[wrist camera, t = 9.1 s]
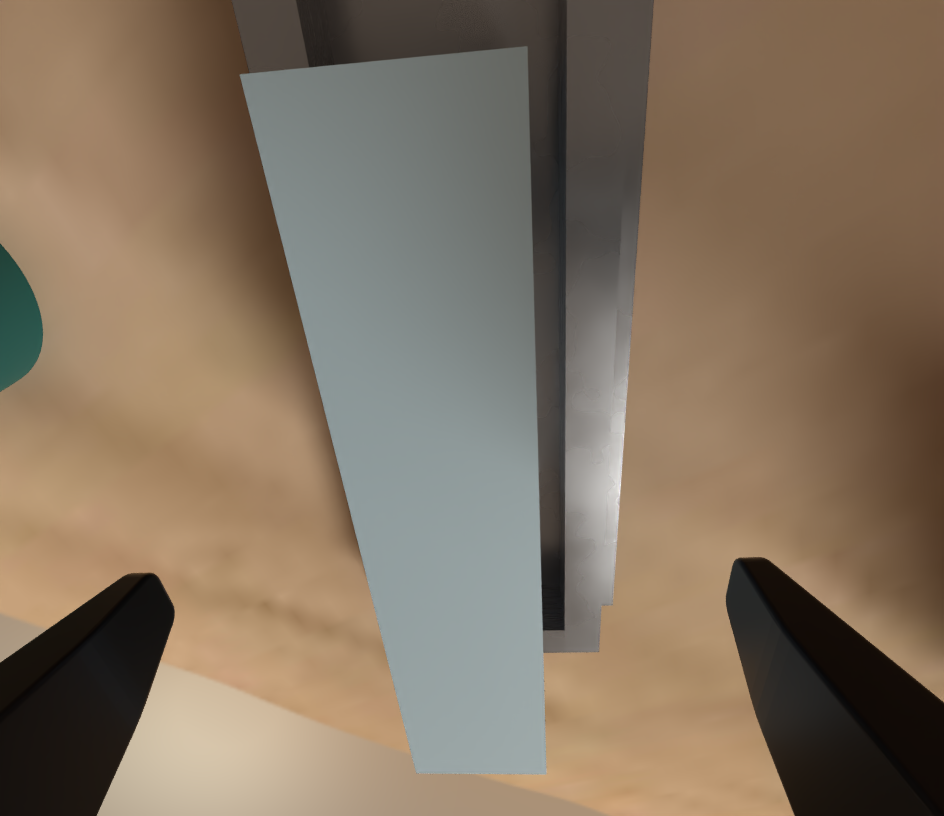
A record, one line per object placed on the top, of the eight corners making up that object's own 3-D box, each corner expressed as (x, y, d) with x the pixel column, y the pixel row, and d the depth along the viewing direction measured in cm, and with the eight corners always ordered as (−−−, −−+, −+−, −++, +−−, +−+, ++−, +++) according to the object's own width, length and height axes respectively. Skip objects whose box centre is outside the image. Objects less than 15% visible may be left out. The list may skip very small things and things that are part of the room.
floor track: (608, 584, 22) (621, 651, 20) (385, 589, 23) (370, 654, 20) (655, -192, 11) (701, -270, 8) (217, -135, 12) (137, -191, 9)
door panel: (532, 528, 20) (548, 774, 13) (444, 530, 20) (414, 773, 13) (516, 57, 12) (532, 46, 6) (379, 71, 13) (235, 74, 6)
